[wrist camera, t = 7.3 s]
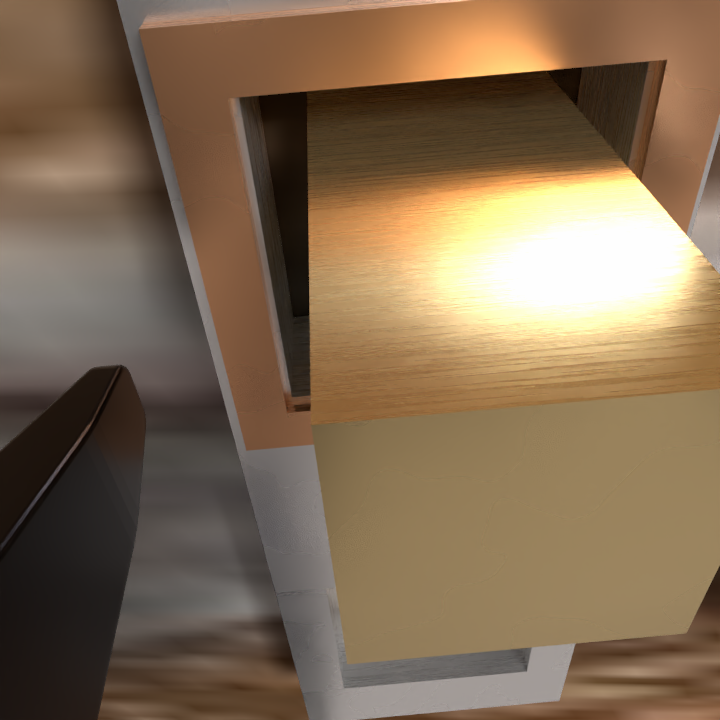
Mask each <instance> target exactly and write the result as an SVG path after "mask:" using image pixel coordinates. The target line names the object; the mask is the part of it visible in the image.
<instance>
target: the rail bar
mask: <svg viewBox="0 0 720 720" xmlns="http://www.w3.org/2000/svg"><path fill="white" fill-rule="evenodd" d="M117 4H118V8H119V12H120V15H121V19H122V23H123V26H124V30H125V34H126V38H127V41H128V45H129V49H130V53H131V56H132V60H133V64H134V67H135V71H136V75H137V79H138V82H139V86H140V90H141V94H142V97H143V101H144V105H145V108H146V112H147V116H148V120H149V123H150V127H151V131H152V135H153V138H154V142H155V146H156V150H157V153H158V157H159V161H160V164H161V168H162V172H163V176H164V179H165V183H166V187H167V191H168V194H169V198H170V202H171V205H172V209H173V213H174V217H175V220H176V224H177V228H178V232H179V235H180V239H181V243H182V246H183V250H184V254H185V258H186V261H187V265H188V269H189V273H190V276H191V280H192V284H193V287H194V291H195V295H196V299H197V302H198V306H199V310H200V314H201V317H202V321H203V325H204V328H205V332H206V336H207V340H208V343H209V347H210V351H211V355H212V358H213V362H214V366H215V369H216V373H217V377H218V381H219V384H220V388H221V392H222V396H223V399H224V403H225V407H226V410H227V414H228V418H229V422H230V425H231V429H232V433H233V437H234V440H235V444H236V448H237V451H238V455H239V459H240V463H241V466H242V470H243V474H244V478H245V481H246V485H247V489H248V492H249V496H250V500H251V504H252V507H253V511H254V515H255V519H256V522H257V526H258V530H259V533H260V537H261V541H262V545H263V548H264V552H265V556H266V560H267V563H268V567H269V571H270V575H271V578H272V582H273V586H274V589H275V593H276V597H277V601H278V604H279V608H280V612H281V616H282V619H283V623H284V627H285V630H286V634H287V638H288V642H289V645H290V649H291V653H292V657H293V660H294V664H295V668H296V671H297V675H298V679H299V683H300V686H301V690H302V694H303V698H304V701H305V705H306V709H307V712H308V716H309V720H358V719H369V718H379V717H390V716H401V715H411V714H422V713H433V712H444V711H454V710H465V709H476V708H486V707H497V706H508V705H518V704H529V703H540V702H550V701H559V700H560V696H561V692H562V689H563V685H564V682H565V678H566V675H567V671H568V668H569V664H570V661H571V657H572V654H573V650H574V646H575V644H564V645H553V646H542V647H531V648H520V649H510V650H499V651H488V652H477V653H466V654H455V655H444V656H433V657H423V658H412V659H401V660H390V661H379V662H368V663H357V664H347V658H346V652H345V645H344V639H343V632H342V625H341V619H340V612H339V606H338V599H337V593H336V586H335V580H334V573H333V566H332V560H331V553H330V547H329V540H328V534H327V527H326V521H325V514H324V507H323V501H322V494H321V488H320V481H319V475H318V468H317V462H316V455H315V448H314V442H313V435H312V429H311V388H310V316H299V317H293V311H292V304H291V298H290V292H289V285H288V279H287V273H286V267H285V260H284V254H283V248H282V242H281V235H280V229H279V223H278V216H277V210H276V204H275V198H274V191H273V185H272V179H271V173H270V166H269V160H268V154H267V147H266V141H265V135H264V129H263V122H262V116H261V110H260V104H259V97H258V96H260V95H271V94H282V93H294V92H305V91H316V90H328V89H339V88H351V87H362V86H373V85H385V84H396V83H407V82H419V81H430V80H442V79H453V78H464V77H476V76H487V75H498V74H510V73H521V72H533V71H544V70H555V69H567V68H578V67H582V70H581V77H580V84H579V92H578V99H577V106H576V107H577V108H578V109H579V110H580V112H581V113H582V114H583V115H584V116H585V117H586V119H587V120H588V121H589V122H590V123H591V124H592V126H593V127H594V128H595V129H596V130H597V131H598V133H599V134H600V135H601V136H602V137H603V138H604V140H605V141H606V142H607V143H608V144H609V145H610V147H611V148H612V149H613V150H614V151H615V153H616V154H617V155H618V156H619V157H620V158H621V160H622V161H623V162H624V163H625V164H626V165H627V167H628V168H629V169H630V170H631V171H632V172H633V174H634V175H635V176H636V177H637V178H638V179H639V181H640V182H641V183H642V184H643V185H644V186H645V188H646V189H647V190H648V191H649V192H650V193H651V195H652V196H653V197H654V198H655V199H656V200H657V202H658V203H659V204H660V205H661V206H662V208H663V209H664V210H665V211H666V212H667V213H668V215H669V216H670V217H671V218H672V219H673V220H674V222H675V223H676V224H677V225H678V226H679V227H680V229H681V230H682V231H683V232H684V233H685V234H686V236H687V237H688V238H689V239H690V236H691V233H692V229H693V225H694V222H695V218H696V215H697V211H698V208H699V204H700V201H701V197H702V194H703V190H704V187H705V183H706V179H707V176H708V172H709V169H710V165H711V162H712V158H713V155H714V151H715V148H716V144H717V141H718V137H719V133H720V0H117Z"/></svg>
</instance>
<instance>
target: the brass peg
mask: <svg viewBox="0 0 720 720" xmlns="http://www.w3.org/2000/svg"><path fill="white" fill-rule="evenodd" d="M307 145H308V226H309V307H310V388H311V429H312V435H313V442H314V448H315V455H316V462H317V468H318V475H319V481H320V488H321V494H322V501H323V507H324V514H325V521H326V527H327V534H328V540H329V547H330V553H331V560H332V566H333V573H334V580H335V586H336V593H337V599H338V606H339V612H340V619H341V625H342V632H343V639H344V645H345V652H346V658H347V664H357V663H368V662H379V661H390V660H401V659H412V658H423V657H433V656H444V655H455V654H466V653H477V652H488V651H499V650H510V649H520V648H531V647H542V646H553V645H564V644H575V643H586V642H597V641H607V640H618V639H629V638H640V637H651V636H662V635H673V634H684V633H687V631H688V629H689V627H690V625H691V623H692V621H693V619H694V617H695V614H696V612H697V610H698V608H699V606H700V604H701V602H702V600H703V598H704V596H705V594H706V592H707V590H708V588H709V586H710V584H711V582H712V580H713V578H714V576H715V574H716V572H717V570H718V568H719V566H720V274H719V273H718V272H717V271H716V270H715V268H714V267H713V266H712V265H711V264H710V263H709V261H708V260H707V259H706V258H705V257H704V255H703V254H702V253H701V252H700V251H699V250H698V248H697V247H696V246H695V245H694V244H693V243H692V241H691V240H690V239H689V238H688V237H687V236H686V234H685V233H684V232H683V231H682V230H681V229H680V227H679V226H678V225H677V224H676V223H675V222H674V220H673V219H672V218H671V217H670V216H669V215H668V213H667V212H666V211H665V210H664V209H663V208H662V206H661V205H660V204H659V203H658V202H657V200H656V199H655V198H654V197H653V196H652V195H651V193H650V192H649V191H648V190H647V189H646V188H645V186H644V185H643V184H642V183H641V182H640V181H639V179H638V178H637V177H636V176H635V175H634V174H633V172H632V171H631V170H630V169H629V168H628V167H627V165H626V164H625V163H624V162H623V161H622V160H621V158H620V157H619V156H618V155H617V154H616V153H615V151H614V150H613V149H612V148H611V147H610V145H609V144H608V143H607V142H606V141H605V140H604V138H603V137H602V136H601V135H600V134H599V133H598V131H597V130H596V129H595V128H594V127H593V126H592V124H591V123H590V122H589V121H588V120H587V119H586V117H585V116H584V115H583V114H582V113H581V112H580V110H579V109H578V108H577V107H576V106H575V105H574V103H573V102H572V101H571V100H570V99H569V97H568V96H567V95H566V94H565V93H564V92H563V90H562V89H561V88H560V87H559V86H558V85H557V83H556V82H555V81H554V80H553V79H552V78H551V76H550V75H549V74H548V73H547V72H546V71H545V70H544V71H533V72H521V73H510V74H498V75H487V76H476V77H464V78H453V79H442V80H430V81H419V82H407V83H396V84H385V85H373V86H362V87H351V88H339V89H328V90H316V91H307Z"/></svg>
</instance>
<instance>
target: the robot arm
mask: <svg viewBox="0 0 720 720" xmlns="http://www.w3.org/2000/svg"><path fill="white" fill-rule="evenodd" d="M145 432H146V418H145V412H144V409H143V406H142V403H141V401H140V398H139V395H138V393H137V390H136V387H135V385H134V382H133V379H132V377H131V374H130V372H129V371H128V369H127V368H126V367H125V366H123V365H111V366H100V367H94V368H92V369H90V370H89V371H88V372H87V373H86V374H84V375H83V376H82V377H81V378H80V379H79V380H78V381H77V382H76V383H74V384H73V385H72V386H71V387H70V388H69V389H68V390H67V391H66V392H65V393H63V394H62V395H61V396H60V397H59V398H58V399H57V400H56V401H55V402H54V403H52V404H51V405H50V406H49V407H48V408H47V409H46V410H45V411H44V412H43V413H41V414H40V415H39V416H38V417H37V418H36V419H35V420H34V421H33V422H31V423H30V424H29V425H28V426H27V427H26V428H25V429H24V430H23V431H22V432H20V433H19V434H18V435H17V436H16V437H15V438H14V439H13V440H12V441H11V442H9V443H8V444H7V445H6V446H5V447H4V448H3V449H2V450H1V451H0V720H97V719H98V714H99V709H100V705H101V700H102V695H103V690H104V686H105V681H106V676H107V671H108V667H109V662H110V657H111V652H112V648H113V643H114V638H115V633H116V629H117V624H118V619H119V614H120V610H121V605H122V600H123V595H124V591H125V586H126V581H127V576H128V572H129V567H130V562H131V557H132V552H133V548H134V542H135V537H136V531H137V524H138V515H139V503H140V492H141V480H142V468H143V456H144V444H145Z"/></svg>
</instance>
